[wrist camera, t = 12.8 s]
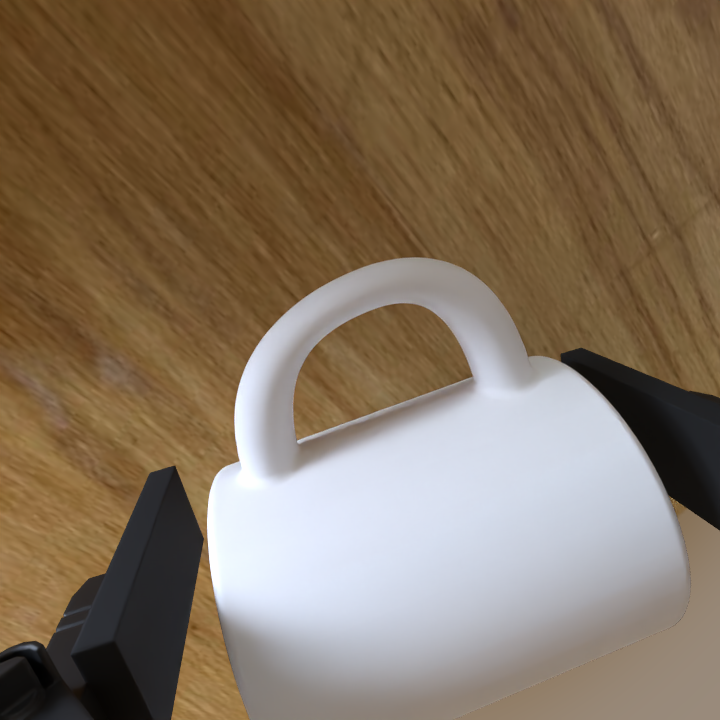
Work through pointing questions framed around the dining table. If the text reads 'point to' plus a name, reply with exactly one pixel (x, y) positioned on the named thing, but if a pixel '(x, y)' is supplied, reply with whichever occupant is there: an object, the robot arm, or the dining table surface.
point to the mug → (433, 523)
